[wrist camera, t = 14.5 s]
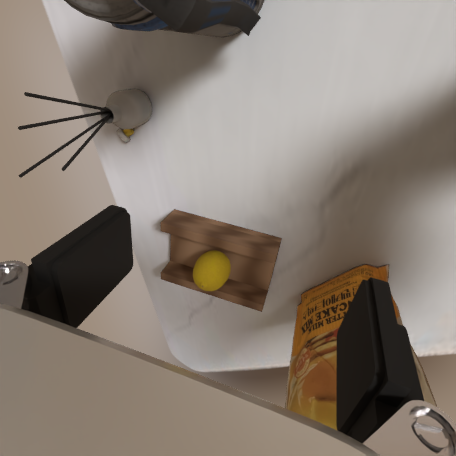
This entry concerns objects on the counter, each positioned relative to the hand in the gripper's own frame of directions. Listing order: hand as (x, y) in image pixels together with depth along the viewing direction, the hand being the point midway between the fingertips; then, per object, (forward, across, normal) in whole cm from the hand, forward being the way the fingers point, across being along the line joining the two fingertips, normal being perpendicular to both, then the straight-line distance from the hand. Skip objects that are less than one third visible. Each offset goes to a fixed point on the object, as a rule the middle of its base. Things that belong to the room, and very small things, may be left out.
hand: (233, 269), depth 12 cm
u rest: (+30, +8, +23) cm, 39 cm away
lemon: (+29, +8, +23) cm, 38 cm away
